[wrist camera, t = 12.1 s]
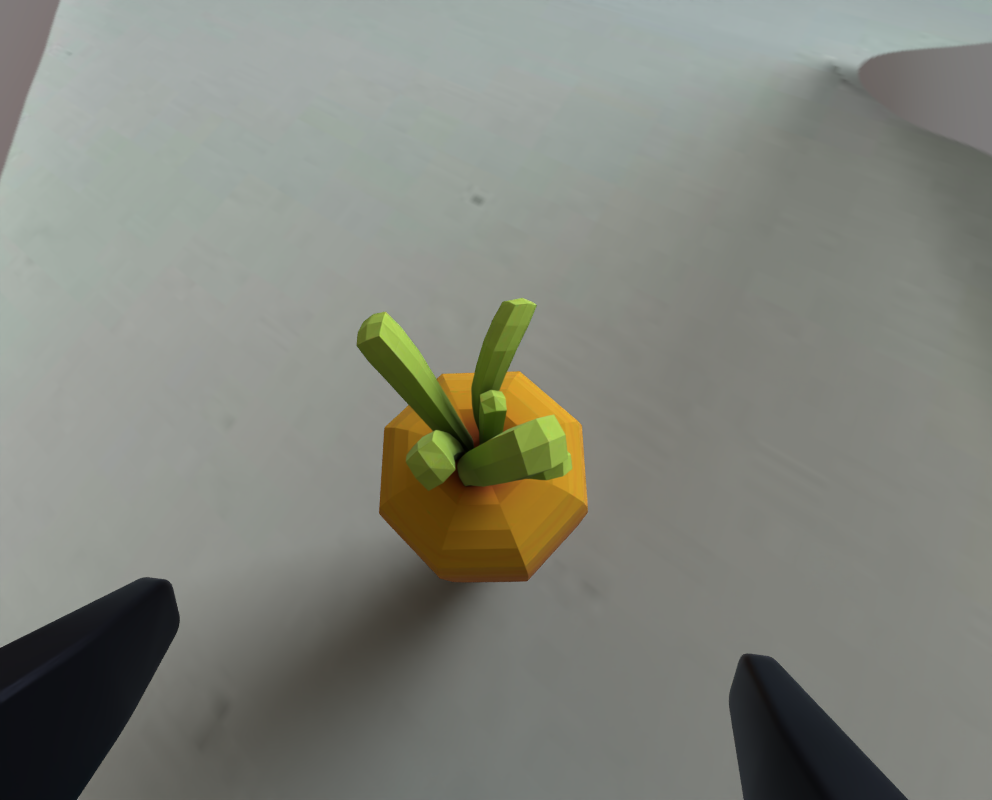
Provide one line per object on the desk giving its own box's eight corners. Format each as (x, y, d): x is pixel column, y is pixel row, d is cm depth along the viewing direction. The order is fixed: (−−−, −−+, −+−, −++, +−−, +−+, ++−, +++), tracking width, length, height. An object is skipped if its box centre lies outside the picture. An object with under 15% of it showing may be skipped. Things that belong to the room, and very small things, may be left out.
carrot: (420, 502, 23) (251, 313, 9) (533, 453, 23) (541, 201, 9) (467, 624, 21) (346, 630, 7) (588, 568, 21) (699, 471, 8)
